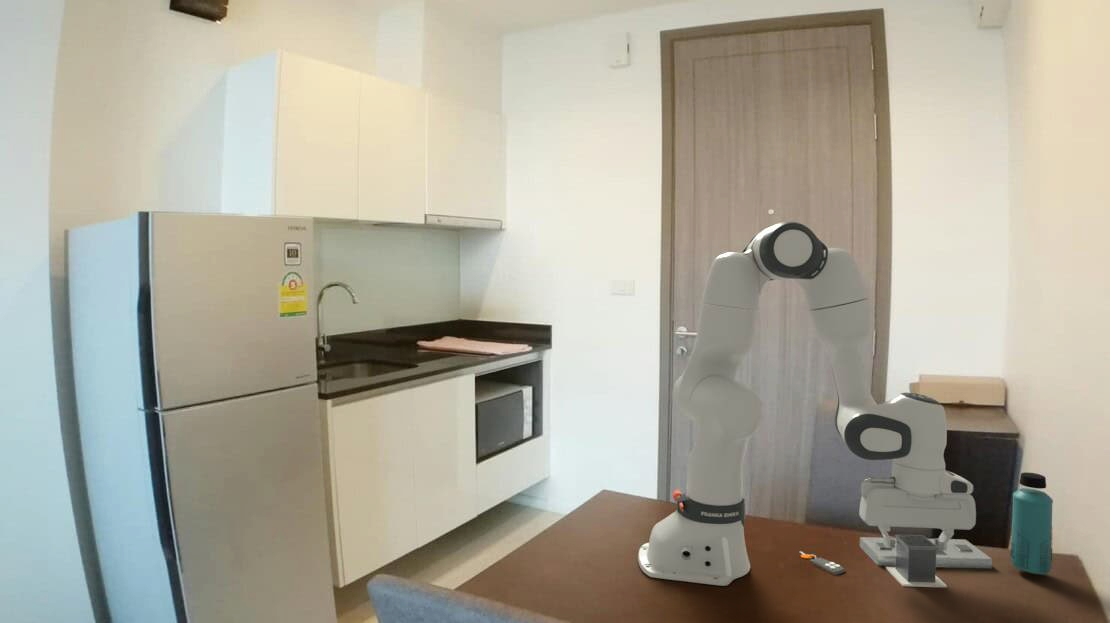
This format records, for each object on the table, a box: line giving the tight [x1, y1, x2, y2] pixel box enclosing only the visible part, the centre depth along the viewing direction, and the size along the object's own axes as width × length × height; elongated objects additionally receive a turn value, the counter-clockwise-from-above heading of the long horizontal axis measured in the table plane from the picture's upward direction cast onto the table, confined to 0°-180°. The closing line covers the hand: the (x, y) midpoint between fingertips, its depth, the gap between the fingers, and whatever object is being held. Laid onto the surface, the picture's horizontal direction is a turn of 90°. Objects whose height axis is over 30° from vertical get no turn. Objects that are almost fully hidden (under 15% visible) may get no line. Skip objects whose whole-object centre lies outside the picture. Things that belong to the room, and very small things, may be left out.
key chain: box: [799, 550, 846, 576], centre depth 129 cm, size 13×4×2 cm, turn 29°
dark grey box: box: [894, 534, 938, 583], centre depth 121 cm, size 5×5×7 cm
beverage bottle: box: [1009, 471, 1054, 575], centre depth 122 cm, size 6×7×20 cm
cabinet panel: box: [859, 536, 993, 569], centre depth 130 cm, size 22×9×2 cm, turn 86°
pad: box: [885, 566, 948, 589], centre depth 121 cm, size 8×7×1 cm
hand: (914, 548), depth 120 cm, fingers open, 8 cm apart
